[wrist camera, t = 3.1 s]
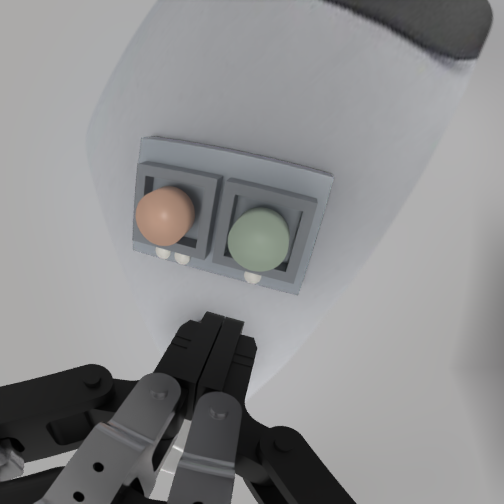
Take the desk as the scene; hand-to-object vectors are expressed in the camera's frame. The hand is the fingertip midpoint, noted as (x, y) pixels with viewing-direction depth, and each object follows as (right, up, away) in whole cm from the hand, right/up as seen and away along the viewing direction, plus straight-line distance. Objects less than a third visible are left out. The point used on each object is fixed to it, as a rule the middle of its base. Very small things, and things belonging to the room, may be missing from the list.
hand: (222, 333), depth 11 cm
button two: (-5, +6, +10) cm, 13 cm away
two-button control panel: (-1, +7, +13) cm, 15 cm away
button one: (+2, +4, +10) cm, 11 cm away
